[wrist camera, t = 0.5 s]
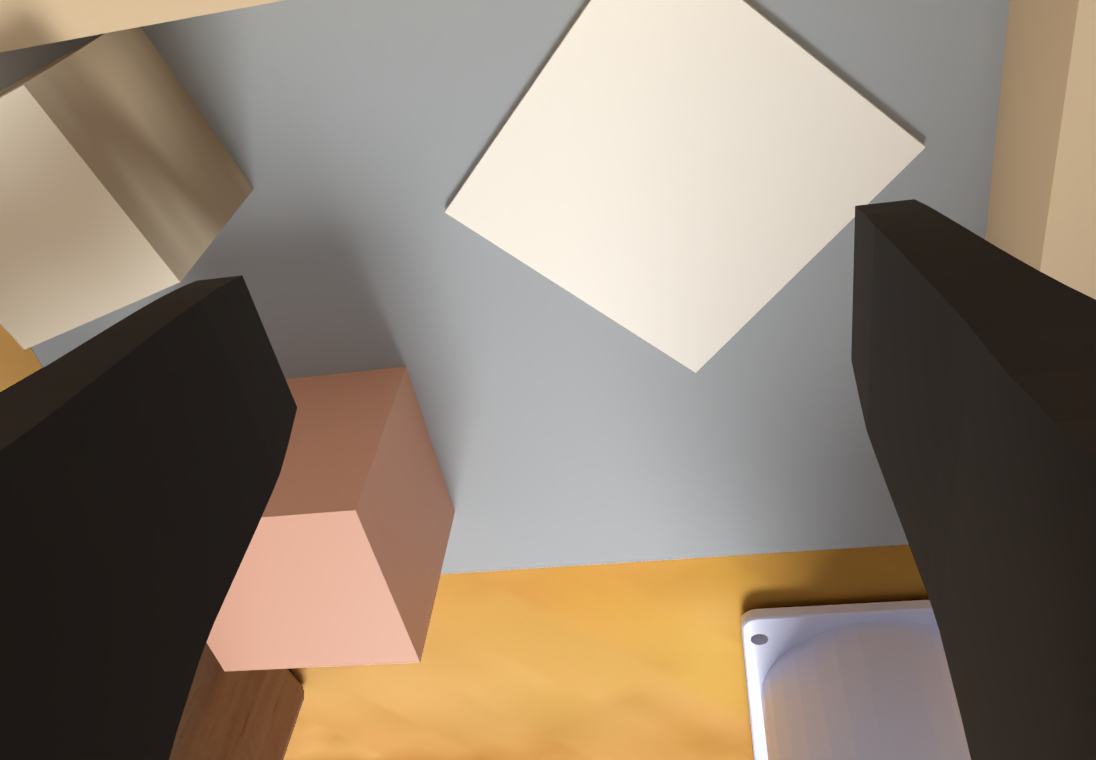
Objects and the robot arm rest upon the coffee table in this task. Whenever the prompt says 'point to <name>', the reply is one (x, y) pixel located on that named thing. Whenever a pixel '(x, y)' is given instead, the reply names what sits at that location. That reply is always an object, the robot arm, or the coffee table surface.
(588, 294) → the pad
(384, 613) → the terracotta cube
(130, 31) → the ash block
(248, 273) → the arena board
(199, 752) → the wooden block
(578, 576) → the coffee table surface
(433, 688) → the coffee table surface
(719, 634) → the coffee table surface
